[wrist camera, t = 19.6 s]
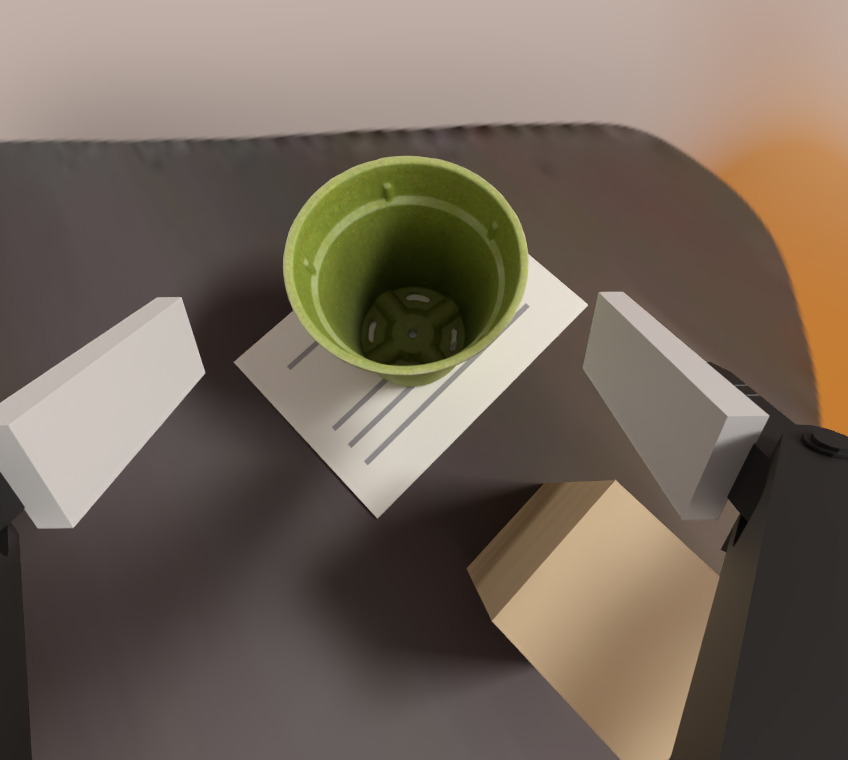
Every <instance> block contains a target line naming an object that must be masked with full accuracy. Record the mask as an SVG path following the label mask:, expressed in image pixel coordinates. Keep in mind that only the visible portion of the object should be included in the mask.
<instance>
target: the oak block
mask: <svg viewBox="0 0 848 760" xmlns="http://www.w3.org/2000/svg"><path fill="white" fill-rule="evenodd" d="M466 569H467V571H468V573H469V575H470V577H471V579H472V581H473V583H474V585H475V587H476V589H477V591H478V593H479V596H480V598H481V600H482V602H483V604H484V606H485V608H486V610H487V612H488V614H489V616H490V618H491V620H492V622H493V623H494V624H495V625H496V626H497V627H498V628H499V629H500V630H501V631H502V633H503V634H504V635H505V636H506V637H507V638H508V639H509V640H510V641H511V642H512V643H513V644H514V645H515V646H516V648H517V649H518V650H519V651H520V652H521V653H522V654H523V655H524V656H525V657H526V658H527V659H528V660H529V661H530V663H531V664H532V665H533V666H534V667H535V668H536V669H537V670H538V671H539V672H540V673H541V674H542V675H543V677H544V678H545V679H546V680H547V681H548V682H549V683H550V684H551V685H552V686H553V687H554V688H555V689H556V690H557V692H558V693H559V694H560V695H561V696H562V697H563V698H564V699H565V700H566V701H567V702H568V703H569V704H570V706H571V707H572V708H573V709H574V710H575V711H576V712H577V713H578V714H579V715H580V716H581V717H582V718H583V719H584V721H585V722H586V723H587V724H588V725H589V726H590V727H591V728H592V729H593V730H594V731H595V732H596V733H597V735H598V736H599V737H600V738H601V739H602V740H603V741H604V742H605V743H606V744H607V745H608V746H609V747H610V748H611V750H612V751H613V752H614V753H615V754H616V755H617V756H618V757H619V758H620V759H621V760H668V759H669V757H670V756H671V754H672V750H673V747H674V743H675V739H676V736H677V732H678V728H679V725H680V721H681V717H682V714H683V710H684V706H685V703H686V699H687V695H688V692H689V688H690V684H691V680H692V677H693V673H694V669H695V666H696V662H697V658H698V655H699V651H700V647H701V644H702V640H703V636H704V633H705V629H706V625H707V622H708V618H709V614H710V611H711V607H712V603H713V600H714V596H715V592H716V589H717V585H718V581H719V576H718V575H717V574H716V573H715V572H714V571H713V570H712V569H711V568H710V567H708V566H707V565H706V564H705V563H704V562H703V561H702V560H701V559H700V558H699V557H698V556H697V555H695V554H694V553H693V552H692V551H691V550H690V549H689V548H688V547H687V546H686V545H685V544H684V543H683V542H681V541H680V540H679V539H678V538H677V537H676V536H675V535H674V534H673V533H672V532H671V531H670V530H669V529H667V528H666V527H665V526H664V525H663V524H662V523H661V522H660V521H659V520H658V519H657V518H656V517H655V516H653V515H652V514H651V513H650V512H649V511H648V510H647V509H646V508H645V507H644V506H643V505H642V504H641V503H639V502H638V501H637V500H636V499H635V498H634V497H633V496H632V495H631V494H630V493H629V492H628V491H627V490H625V489H624V488H623V487H622V486H621V485H620V484H619V483H618V482H617V481H616V480H608V481H586V482H563V483H544V484H543V485H542V486H541V487H540V488H539V490H538V491H537V492H536V493H535V494H534V495H533V496H532V497H531V498H530V499H529V500H528V502H527V503H526V504H525V505H524V506H523V507H522V508H521V509H520V510H519V511H518V512H517V514H516V515H515V516H514V517H513V518H512V519H511V520H510V521H509V522H508V523H507V525H506V526H505V527H504V528H503V529H502V530H501V531H500V532H499V533H498V534H497V535H496V537H495V538H494V539H493V540H492V541H491V542H490V543H489V544H488V545H487V546H486V547H485V549H484V550H483V551H482V552H481V553H480V554H479V555H478V556H477V557H476V558H475V560H474V561H473V562H472V563H471V564H470V565H469V566H468V567H467V568H466Z"/></svg>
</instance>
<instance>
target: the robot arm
mask: <svg viewBox="0 0 848 760" xmlns="http://www.w3.org/2000/svg"><path fill="white" fill-rule="evenodd" d="M583 369H584V371H585V373H586V374H587V376H588V377H589V379H590V380H591V382H592V383H593V385H594V386H595V388H596V389H597V391H598V392H599V394H600V395H601V397H602V398H603V400H604V402H605V403H606V405H607V406H608V408H609V409H610V411H611V412H612V414H613V415H614V417H615V418H616V420H617V421H618V423H619V424H620V426H621V427H622V429H623V430H624V432H625V434H626V435H627V437H628V438H629V440H630V441H631V443H632V444H633V446H634V447H635V449H636V450H637V452H638V453H639V455H640V456H641V458H642V459H643V461H644V463H645V464H646V466H647V467H648V469H649V470H650V472H651V473H652V475H653V476H654V478H655V479H656V481H657V482H658V484H659V485H660V487H661V488H662V490H663V492H664V493H665V495H666V496H667V498H668V499H669V501H670V502H671V504H672V505H673V507H674V508H675V510H676V511H677V513H678V514H679V516H680V517H681V519H682V520H718V518H719V516H720V514H721V512H722V510H723V508H724V506H725V504H726V502H727V500H728V499H729V500H730V501H731V503H732V504H733V505H734V506H735V508H736V509H737V510H738V511H739V512H740V515H739V516H738V518H737V520H736V522H735V524H734V526H733V528H732V530H731V531H730V533H729V535H728V537H727V539H726V541H725V543H724V545H723V546H722V548H721V550H723V551H725V552H726V555H725V559H724V563H723V566H722V570H721V574H720V577H719V581H718V585H717V589H716V592H715V596H714V600H713V603H712V607H711V611H710V614H709V618H708V622H707V625H706V629H705V633H704V636H703V640H702V644H701V647H700V651H699V655H698V658H697V662H696V666H695V669H694V673H693V677H692V680H691V684H690V688H689V692H688V695H687V699H686V703H685V706H684V710H683V714H682V717H681V721H680V725H679V728H678V732H677V736H676V739H675V743H674V747H673V750H672V754H671V758H670V760H848V437H847V436H845V435H843V434H840V433H837V432H835V431H832V430H829V429H826V428H821V427H817V426H813V425H796V424H794V423H793V422H792V421H791V420H789V419H788V418H787V417H786V416H785V415H783V414H782V413H781V412H780V411H778V410H777V409H776V408H775V407H773V406H772V405H771V404H770V403H768V402H767V401H766V400H765V399H764V398H762V397H761V396H757V393H756V392H755V391H754V390H752V389H751V388H750V387H749V386H745V383H744V382H743V381H741V380H740V379H739V378H738V377H736V376H735V375H734V374H733V373H731V372H730V371H728V370H726V369H724V368H722V367H720V366H717V365H715V364H713V363H711V362H705V361H704V360H703V359H702V358H701V357H699V356H698V355H697V354H696V353H695V352H694V351H692V350H691V349H690V348H689V347H688V346H686V345H685V344H684V343H683V342H682V341H681V340H679V339H678V338H677V337H676V336H675V335H673V334H672V333H671V332H670V331H669V330H667V329H666V328H665V327H664V326H663V325H662V324H660V323H659V322H658V321H657V320H656V319H654V318H653V317H652V316H651V315H650V314H649V313H647V312H646V311H645V310H644V309H643V308H641V307H640V306H639V305H638V304H637V303H636V302H634V301H633V300H632V299H631V298H630V297H628V296H627V295H626V294H625V293H624V292H599V293H598V297H597V302H596V307H595V312H594V317H593V321H592V326H591V331H590V336H589V341H588V345H587V350H586V355H585V360H584V365H583ZM204 374H205V370H204V367H203V364H202V361H201V357H200V354H199V351H198V348H197V345H196V342H195V338H194V335H193V332H192V329H191V326H190V323H189V319H188V316H187V313H186V310H185V307H184V304H183V300H182V297H158V298H156V299H154V300H153V301H151V302H150V303H148V304H147V305H145V306H144V307H142V308H141V309H139V310H138V311H136V312H135V313H133V314H132V315H130V316H129V317H127V318H126V319H124V320H123V321H121V322H120V323H118V324H117V325H115V326H114V327H112V328H111V329H109V330H108V331H106V332H105V333H104V334H102V335H101V336H99V337H98V338H96V339H95V340H93V341H92V342H90V343H89V344H87V345H86V346H84V347H83V348H81V349H80V350H78V351H77V352H75V353H74V354H72V355H71V356H69V357H68V358H66V359H65V360H63V361H62V362H60V363H59V364H57V365H56V366H54V367H53V368H51V369H50V370H48V371H47V372H45V373H44V374H42V375H41V376H39V377H38V378H37V379H35V380H34V381H32V382H31V383H29V384H28V385H26V386H25V387H23V388H22V389H20V390H19V391H17V392H16V393H14V394H13V395H11V396H10V397H8V398H7V399H5V400H4V401H2V402H1V403H0V760H32V753H31V736H30V719H29V701H28V684H27V667H26V650H25V633H24V615H23V598H22V581H21V564H20V547H19V534H18V533H17V531H16V529H15V528H14V527H13V525H12V524H11V521H12V520H13V519H14V518H15V517H16V516H17V515H18V514H19V513H20V512H21V511H22V510H23V509H25V511H26V512H27V514H28V515H29V517H30V518H31V519H32V521H33V522H34V524H35V525H36V527H37V528H74V527H75V525H76V524H77V523H78V522H79V521H80V520H81V518H82V517H83V516H84V515H85V514H86V513H87V511H88V510H89V509H90V508H91V507H92V505H93V504H94V503H95V502H96V501H97V500H98V498H99V497H100V496H101V495H102V494H103V493H104V491H105V490H106V489H107V488H108V487H109V486H110V484H111V483H112V482H113V481H114V480H115V479H116V477H117V476H118V475H119V474H120V473H121V471H122V470H123V469H124V468H125V467H126V466H127V464H128V463H129V462H130V461H131V460H132V459H133V457H134V456H135V455H136V454H137V453H138V452H139V450H140V449H141V448H142V447H143V446H144V444H145V443H146V442H147V441H148V440H149V439H150V437H151V436H152V435H153V434H154V433H155V432H156V430H157V429H158V428H159V427H160V426H161V425H162V423H163V422H164V421H165V420H166V419H167V417H168V416H169V415H170V414H171V413H172V412H173V410H174V409H175V408H176V407H177V406H178V405H179V403H180V402H181V401H182V400H183V399H184V398H185V396H186V395H187V394H188V393H189V392H190V390H191V389H192V388H193V387H194V386H195V385H196V383H197V382H198V381H199V380H200V379H201V378H202V376H203V375H204Z"/></svg>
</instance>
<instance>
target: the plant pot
mask: <svg viewBox="0 0 848 760" xmlns="http://www.w3.org/2000/svg"><path fill="white" fill-rule="evenodd" d="M528 264H529V259H528V249H527V244H526V239H525V235H524V232H523V229H522V226H521V224H520V222H519V219H518V217H517V215H516V214H515V212H514V211H513V210H512V208H511V207H510V205H509V204H508V202H507V201H506V200H505V198H504V197H503V196H502V195H501V194H500V193H499V192H498V191H497V190H496V189H495V188H494V187H493V186H492V185H490V184H489V183H488V182H487V181H486V180H484V179H483V178H481V177H480V176H478V175H477V174H475V173H473V172H471V171H469V170H468V169H465V168H463V167H461V166H458V165H456V164H453V163H450V162H446V161H443V160H439V159H433V158H426V157H419V156H395V157H387V158H381V159H378V160H374V161H370V162H366V163H364V164H361V165H358V166H355V167H353V168H351V169H349V170H347V171H345V172H343V173H342V174H340V175H337V176H336V177H334V178H332V179H331V180H329V181H328V182H327V183H326V184H324V185H323V186H322V187H321V188H320V189H318V190H317V191H316V192H315V193H314V194H313V195H312V196H311V197H310V199H309V200H308V201H307V202H306V204H305V205H304V206H303V208H302V209H301V210H300V212H299V214H298V215H297V217H296V218H295V220H294V222H293V224H292V226H291V228H290V231H289V234H288V238H287V242H286V246H285V251H284V257H283V275H284V282H285V288H286V292H287V295H288V299H289V301H290V303H291V306H292V308H293V311H294V313H295V314H296V316H297V318H298V319H299V321H300V322H301V324H302V326H303V327H304V328H305V330H306V331H307V332H308V333H309V334H310V336H311V337H312V338H313V339H314V340H315V341H316V342H317V343H318V344H319V345H320V346H321V347H323V348H324V349H325V350H326V351H328V352H329V353H330V354H332V355H333V356H335V357H336V358H338V359H340V360H342V361H343V362H345V363H347V364H349V365H351V366H354V367H356V368H359V369H362V370H365V371H368V372H372V373H376V374H378V375H379V376H380V377H382V378H384V379H385V380H387V381H389V382H391V383H394V384H397V385H402V386H410V387H414V386H424V385H427V384H431V383H433V382H435V381H437V380H439V379H441V378H443V377H444V376H446V375H447V374H448V373H450V372H451V371H452V370H453V369H454V368H455V367H456V365H459V364H461V363H463V362H465V361H467V360H469V359H470V358H472V357H474V356H475V355H477V354H478V353H480V352H481V351H483V350H484V349H485V348H487V347H488V346H489V345H490V344H491V343H493V342H494V341H495V340H496V339H497V337H498V336H499V335H500V334H501V333H502V332H503V331H504V330H505V328H506V327H507V326H508V324H509V323H510V322H511V320H512V319H513V317H514V315H515V314H516V312H517V310H518V308H519V306H520V303H521V301H522V298H523V295H524V292H525V288H526V284H527V279H528V268H529V267H528ZM414 294H417V295H422V296H425V297H427V298H429V300H430V301H429V302H422V301H418V300H407V299H406V297H407V296H409V295H414ZM373 321H377V324H376V327H375V331H374V342H371V341H370V340H369V337H368V334H369V327H370V324H371V323H372V322H373ZM453 328H454V329H455V330H456V331H457V334H456V340H457V345H456V347H455V349H454V350H453V351H450V350H449V347H450V342H451V334H452V333H451V330H452V329H453ZM411 329H414V330H416V331H417V334H416V337H415V338H410V337H409V335H408V333H409V331H410V330H411Z"/></svg>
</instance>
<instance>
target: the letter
mask: <svg viewBox="0 0 848 760" xmlns="http://www.w3.org/2000/svg"><path fill="white" fill-rule="evenodd" d="M528 259H529V264H528V267H529V268H528V279H527V284H526V288H525V292H524V295H523V298H522V301H521V303H520V306H519V308H518V310H517V312H516V314H515V315H514V317H513V319H512V320H511V322H510V323H509V324H508V326H507V327H506V328H505V330H504V331H503V332H502V333H501V334H500V335H499V336H498V337H497V339H496V340H495V341H494V342H493V343H491V344H490V345H489V346H488V347H487V348H485V349H484V350H483V351H481V352H480V353H478V354H477V355H475V356H474V357H472V358H470V359H469V360H467V361H465V362H463V363H461V364H459V365H456V367H455V368H454V369H453V370H452V371H451V372H450V373H448V374H447V375H446V376H444V377H443V378H441V379H439V380H437V381H435V382H433V383H431V384H427V385H424V386H414V387H410V386H402V385H397V384H394V383H391V382H389V381H387V380H385V379H384V378H382V377H380V376H379V375H378V374H376V373H372V372H368V371H365V370H362V369H359V368H356V367H354V366H351V365H349V364H347V363H345V362H343V361H342V360H340V359H338V358H336V357H335V356H333V355H332V354H330V353H329V352H328V351H326V350H325V349H324V348H323V347H321V346H320V345H319V344H318V343H317V342H316V341H315V340H314V339H313V338H312V337H311V336H310V334H309V333H308V332H307V331H306V330H305V328H304V327H303V326H302V324H301V322H300V321H299V319H298V318H297V316H296V314H295V313H294V311H292V312H291V313H290V314H289V315H288V316H287V317H285V318H284V319H283V320H282V321H281V322H280V323H278V324H277V325H276V326H275V327H274V328H273V329H271V330H270V331H269V332H268V333H267V334H266V335H265V336H263V337H262V338H261V339H260V340H259V341H258V342H256V343H255V344H254V345H253V346H252V347H251V348H249V349H248V350H247V351H246V352H245V353H244V354H243V355H241V356H240V357H239V358H238V359H237V360H236V361H234V363H235V364H236V365H237V366H238V368H239V369H240V370H241V371H242V372H243V373H244V374H245V375H246V376H247V377H248V378H249V380H250V381H251V382H252V383H253V384H254V385H255V386H256V387H257V388H258V389H259V390H260V391H261V393H262V394H263V395H264V396H265V397H266V398H267V399H268V400H269V401H270V402H271V403H272V405H273V406H274V407H275V408H276V409H277V410H278V411H279V412H280V413H281V414H282V415H283V417H284V418H285V419H286V420H287V421H288V422H289V423H290V424H291V425H292V426H293V427H294V428H295V430H296V431H297V432H298V433H299V434H300V435H301V436H302V437H303V438H304V439H305V440H306V442H307V443H308V444H309V445H310V446H311V447H312V448H313V449H314V450H315V451H316V452H317V453H318V455H319V456H320V457H321V458H322V459H323V460H324V461H325V462H326V463H327V464H328V465H329V467H330V468H331V469H332V470H333V471H334V472H335V473H336V474H337V475H338V476H339V477H340V478H341V480H342V481H343V482H344V483H345V484H346V485H347V486H348V487H349V488H350V489H351V490H352V492H353V493H354V494H355V495H356V496H357V497H358V498H359V499H360V500H361V501H362V502H363V503H364V505H365V506H366V507H367V508H368V509H369V510H370V511H371V512H372V513H373V514H374V515H375V517H376V518H377V519H378V518H379V517H380V516H381V515H382V514H383V513H384V512H385V511H386V510H387V509H388V508H389V507H390V506H391V505H392V504H393V503H394V502H395V501H396V499H397V498H398V497H399V496H400V495H401V494H402V493H403V492H404V491H405V490H406V489H407V488H408V487H409V486H410V485H411V484H412V483H413V482H414V481H415V480H416V479H417V478H418V477H419V476H420V475H421V474H422V473H423V472H424V471H425V470H426V469H427V468H428V467H429V466H430V465H431V464H432V463H433V462H434V461H435V460H436V459H437V458H438V457H439V456H440V455H441V454H442V453H443V452H444V451H445V450H446V449H447V448H448V447H449V446H450V445H451V444H452V443H453V442H454V441H455V440H456V439H457V438H458V437H459V436H460V435H461V434H462V433H463V432H464V431H465V430H466V429H467V427H468V426H469V425H470V424H471V423H472V422H473V421H474V420H475V419H476V418H477V417H478V416H479V415H480V414H481V413H482V412H483V411H484V410H485V409H486V408H487V407H488V406H489V405H490V404H491V403H492V402H493V401H494V400H495V399H496V398H497V397H498V396H499V395H500V394H501V393H502V392H503V391H504V390H505V389H506V388H507V387H508V386H509V385H510V384H511V383H512V382H513V381H514V380H515V379H516V378H517V377H518V376H519V375H520V374H521V373H522V372H523V371H524V370H525V369H526V368H527V367H528V366H529V365H530V364H531V363H532V362H533V361H534V360H535V359H536V358H537V356H538V355H539V354H540V353H541V352H542V351H543V350H544V349H545V348H546V347H547V346H548V345H549V344H550V343H551V342H552V341H553V340H554V339H555V338H556V337H557V336H558V335H559V334H560V333H561V332H562V331H563V330H564V329H565V328H566V327H567V326H568V325H569V324H570V323H571V322H572V321H573V320H574V319H575V318H576V317H577V316H578V315H579V314H580V313H581V312H582V311H583V310H584V309H585V308H586V307H587V306H588V304H586V303H585V302H584V301H583V300H582V299H581V298H579V297H578V296H577V295H576V294H575V293H574V292H572V291H571V290H570V289H569V288H568V287H566V286H565V285H564V284H563V283H562V282H561V281H559V280H558V279H557V278H556V277H555V276H553V275H552V274H551V273H550V272H549V271H548V270H546V269H545V268H544V267H543V266H542V265H540V264H539V263H538V262H537V261H536V260H535V259H533V258H532V257H531V256H530V255H529V254H528ZM406 299H407V300H418V301H422V302H429V301H430V300H429V298H427V297H425V296H422V295H417V294H414V295H409V296H407V297H406ZM376 324H377V321H373V322H372V323H371V324H370V327H369V334H368V337H369V340H370V341H371V342H374V331H375V327H376ZM451 333H452V334H451V342H450V347H449V350H450V351H453V350H454V349H455V347H456V345H457V340H456V334H457V331H456V330H455V329H454V328H453V329H452V330H451ZM416 334H417V331H416V330H414V329H411V330H410V331H409V333H408V335H409V337H410V338H415V337H416Z"/></svg>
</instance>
